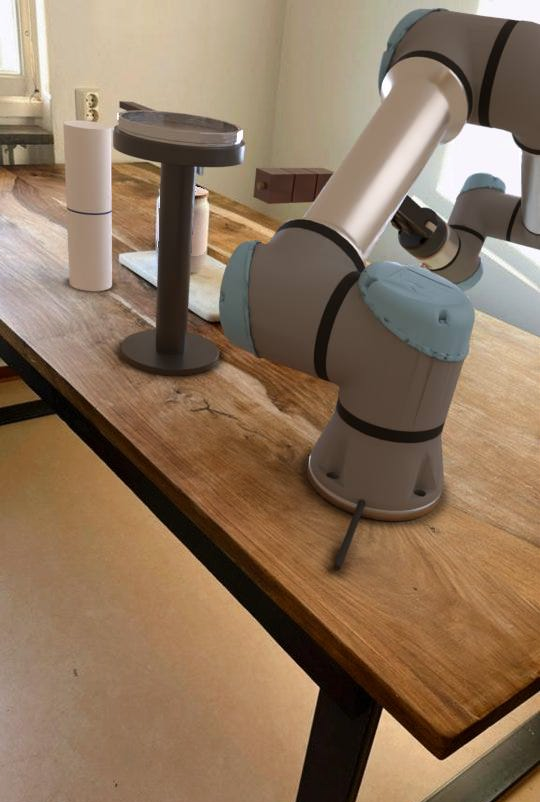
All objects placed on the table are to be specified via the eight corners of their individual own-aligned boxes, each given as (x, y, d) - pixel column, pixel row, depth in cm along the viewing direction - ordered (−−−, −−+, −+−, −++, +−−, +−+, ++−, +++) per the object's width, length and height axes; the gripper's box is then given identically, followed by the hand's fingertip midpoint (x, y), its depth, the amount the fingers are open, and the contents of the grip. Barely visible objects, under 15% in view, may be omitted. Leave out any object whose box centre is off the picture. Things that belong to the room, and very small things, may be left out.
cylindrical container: (70, 290, 116) (63, 126, 103) (68, 276, 122) (62, 118, 108) (113, 291, 119) (113, 130, 105) (110, 277, 124) (109, 123, 110)
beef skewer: (380, 193, 110) (385, 167, 108) (396, 199, 107) (402, 173, 105) (249, 197, 97) (252, 167, 94) (264, 204, 94) (268, 174, 92)
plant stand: (169, 310, 114) (178, 103, 97) (246, 368, 100) (272, 136, 83) (76, 322, 106) (68, 97, 89) (145, 387, 91) (150, 132, 74)
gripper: (447, 272, 114) (371, 201, 97) (385, 244, 124) (305, 175, 107) (473, 230, 113) (400, 151, 95) (408, 206, 123) (331, 129, 105)
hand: (350, 164), depth 101 cm, fingers closed on beef skewer, 2 cm apart
